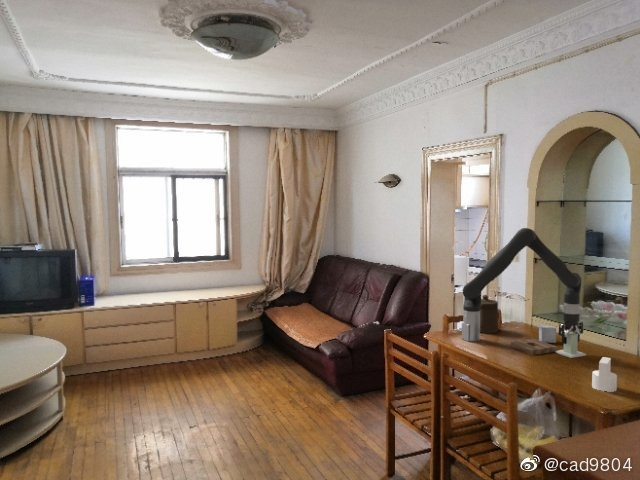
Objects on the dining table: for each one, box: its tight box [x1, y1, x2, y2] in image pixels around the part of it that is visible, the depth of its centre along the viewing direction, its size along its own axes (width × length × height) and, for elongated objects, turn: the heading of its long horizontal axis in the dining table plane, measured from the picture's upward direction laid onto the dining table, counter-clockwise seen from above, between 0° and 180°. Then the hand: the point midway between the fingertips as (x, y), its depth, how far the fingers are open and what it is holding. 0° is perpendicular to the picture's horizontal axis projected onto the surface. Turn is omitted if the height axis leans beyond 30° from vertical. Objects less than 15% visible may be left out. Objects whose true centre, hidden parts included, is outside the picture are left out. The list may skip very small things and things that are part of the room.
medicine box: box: [538, 325, 557, 344], centre depth 269 cm, size 8×4×9 cm, turn 84°
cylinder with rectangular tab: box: [591, 356, 618, 393], centre depth 202 cm, size 9×9×12 cm
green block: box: [562, 331, 579, 354], centre depth 247 cm, size 4×4×10 cm
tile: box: [554, 349, 587, 359], centre depth 247 cm, size 10×10×1 cm
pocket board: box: [509, 338, 558, 356], centre depth 257 cm, size 16×16×2 cm
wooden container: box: [480, 294, 499, 334], centre depth 294 cm, size 15×15×22 cm
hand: (570, 342), depth 247 cm, fingers open, 8 cm apart
